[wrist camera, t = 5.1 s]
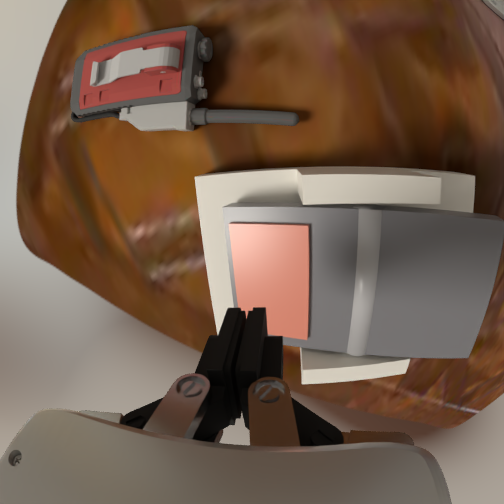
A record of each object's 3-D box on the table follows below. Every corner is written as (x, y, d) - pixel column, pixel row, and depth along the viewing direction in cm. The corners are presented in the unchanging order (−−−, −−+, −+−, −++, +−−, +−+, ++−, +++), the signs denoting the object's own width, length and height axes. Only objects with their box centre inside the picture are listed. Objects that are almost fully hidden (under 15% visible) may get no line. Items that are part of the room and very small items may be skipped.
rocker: (494, 214, 12) (508, 222, 10) (463, 343, 16) (468, 360, 14) (234, 201, 19) (219, 208, 17) (246, 324, 22) (236, 338, 21)
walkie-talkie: (80, 141, 21) (297, 135, 20) (50, 144, 17) (301, 130, 15) (87, 59, 18) (301, 35, 16) (59, 50, 14) (304, 11, 12)
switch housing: (459, 172, 18) (514, 186, 11) (439, 312, 23) (472, 357, 16) (204, 173, 21) (166, 186, 14) (224, 326, 26) (205, 382, 19)
